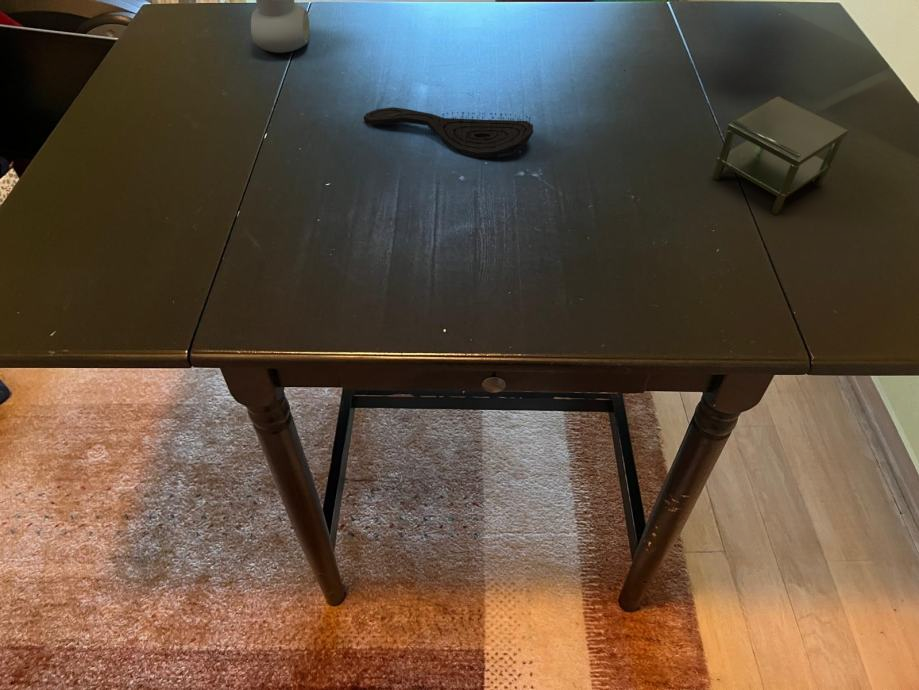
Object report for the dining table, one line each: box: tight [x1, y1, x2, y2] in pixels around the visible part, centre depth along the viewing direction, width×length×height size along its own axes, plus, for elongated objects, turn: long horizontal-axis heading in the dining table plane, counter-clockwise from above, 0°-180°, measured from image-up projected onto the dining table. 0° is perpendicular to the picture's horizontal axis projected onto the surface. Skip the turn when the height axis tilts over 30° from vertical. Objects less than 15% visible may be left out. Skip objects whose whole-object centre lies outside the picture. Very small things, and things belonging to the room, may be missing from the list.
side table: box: [712, 96, 849, 216], centre depth 86 cm, size 10×10×9 cm
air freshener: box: [250, 0, 310, 54], centre depth 111 cm, size 11×8×10 cm
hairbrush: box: [363, 106, 535, 159], centre depth 96 cm, size 8×4×25 cm
